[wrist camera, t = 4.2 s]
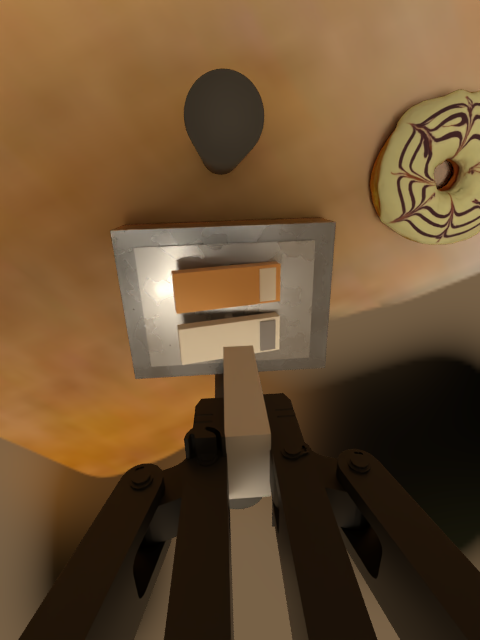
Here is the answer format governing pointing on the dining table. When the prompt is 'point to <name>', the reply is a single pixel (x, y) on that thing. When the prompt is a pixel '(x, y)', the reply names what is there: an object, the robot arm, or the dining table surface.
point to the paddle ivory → (228, 336)
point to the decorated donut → (431, 171)
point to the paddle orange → (226, 286)
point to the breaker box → (222, 250)
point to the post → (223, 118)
